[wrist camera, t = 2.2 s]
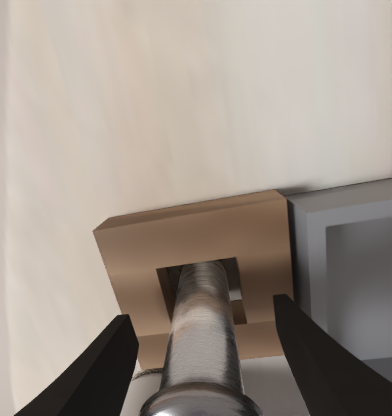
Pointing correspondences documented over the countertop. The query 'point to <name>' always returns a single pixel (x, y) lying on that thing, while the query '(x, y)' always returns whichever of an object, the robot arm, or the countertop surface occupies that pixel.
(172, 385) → the pin
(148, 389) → the can
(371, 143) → the countertop surface
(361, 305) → the tray
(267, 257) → the hitch block
